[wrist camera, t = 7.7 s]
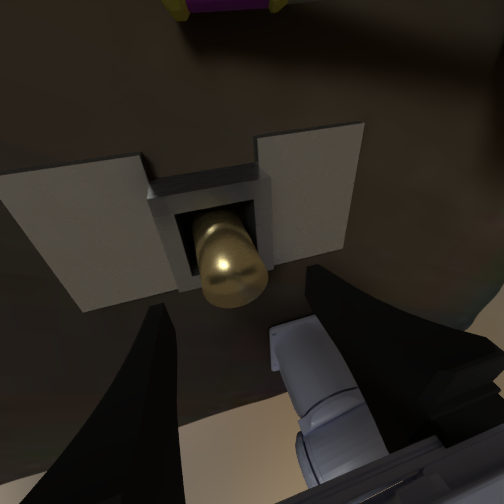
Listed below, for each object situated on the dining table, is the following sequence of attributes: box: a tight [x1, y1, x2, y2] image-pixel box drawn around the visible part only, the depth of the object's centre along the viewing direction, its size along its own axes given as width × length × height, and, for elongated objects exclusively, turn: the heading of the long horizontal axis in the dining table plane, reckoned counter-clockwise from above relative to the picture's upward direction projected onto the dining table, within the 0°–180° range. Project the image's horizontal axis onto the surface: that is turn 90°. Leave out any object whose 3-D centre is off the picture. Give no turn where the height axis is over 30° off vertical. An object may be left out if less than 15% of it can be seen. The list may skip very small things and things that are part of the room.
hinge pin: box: [190, 204, 268, 308], centre depth 16 cm, size 4×4×8 cm
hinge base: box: [0, 121, 365, 312], centre depth 18 cm, size 11×23×4 cm, turn 95°
